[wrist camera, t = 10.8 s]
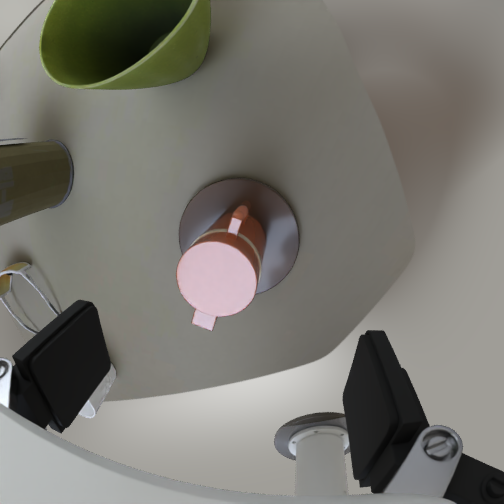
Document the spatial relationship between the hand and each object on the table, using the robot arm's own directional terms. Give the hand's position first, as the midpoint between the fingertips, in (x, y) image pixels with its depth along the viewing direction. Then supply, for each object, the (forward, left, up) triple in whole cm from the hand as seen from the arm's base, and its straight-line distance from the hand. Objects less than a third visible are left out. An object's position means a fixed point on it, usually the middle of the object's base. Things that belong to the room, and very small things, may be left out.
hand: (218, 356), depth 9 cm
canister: (+15, +29, -26) cm, 41 cm away
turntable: (-2, +4, -26) cm, 26 cm away
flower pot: (+22, +5, -26) cm, 34 cm away
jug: (-2, +4, -24) cm, 24 cm away
